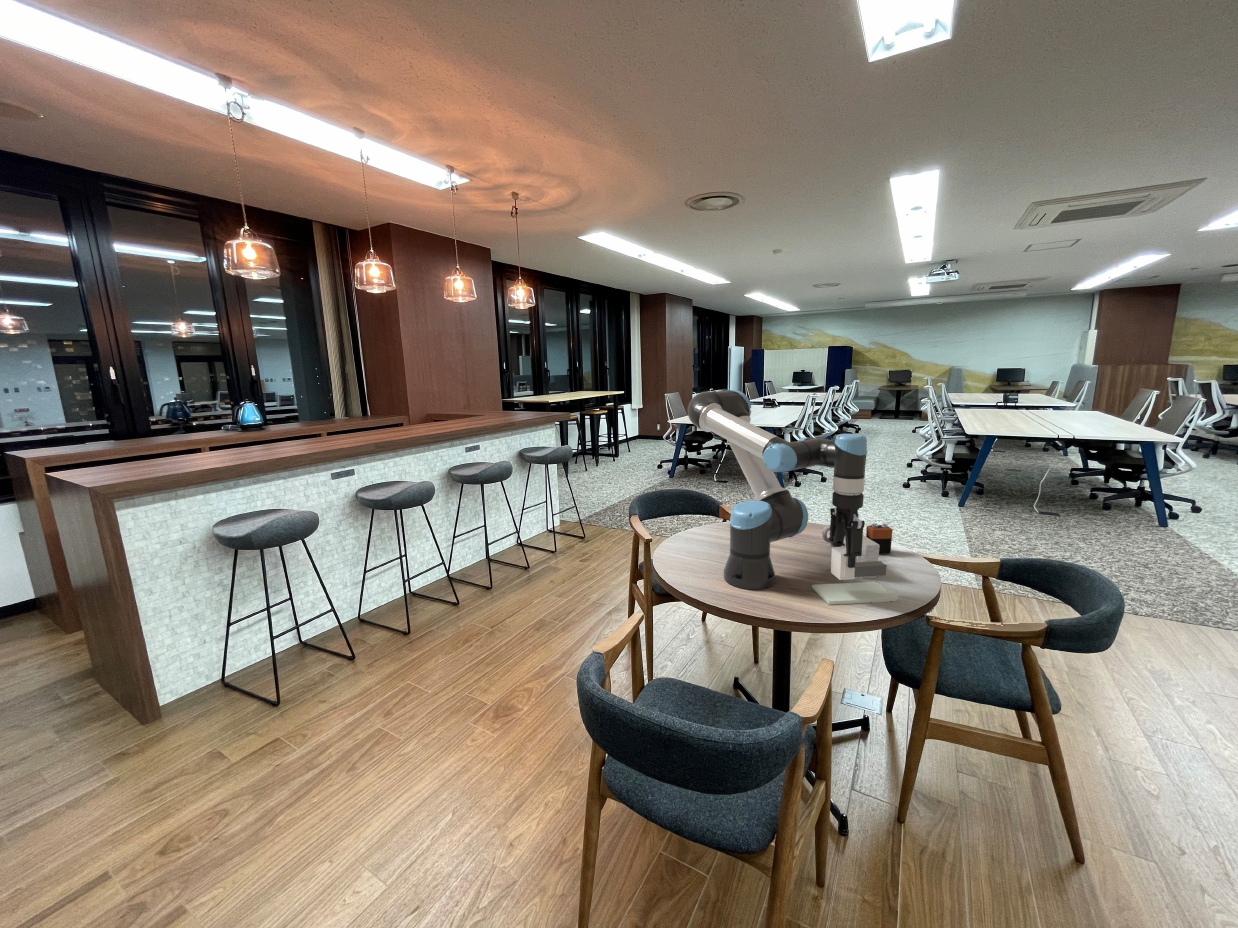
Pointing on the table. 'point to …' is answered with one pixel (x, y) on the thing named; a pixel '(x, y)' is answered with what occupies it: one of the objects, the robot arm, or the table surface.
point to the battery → (880, 536)
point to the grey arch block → (868, 552)
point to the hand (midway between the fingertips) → (843, 573)
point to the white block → (860, 567)
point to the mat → (854, 593)
